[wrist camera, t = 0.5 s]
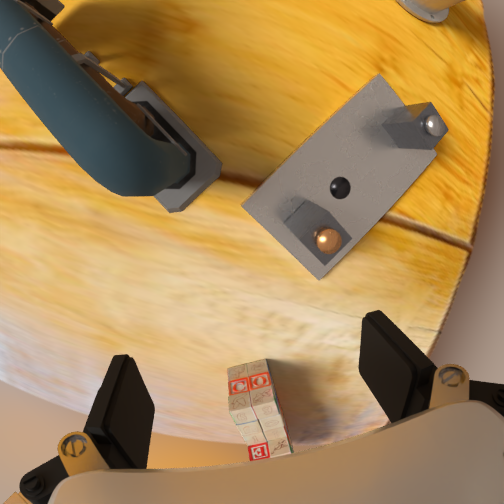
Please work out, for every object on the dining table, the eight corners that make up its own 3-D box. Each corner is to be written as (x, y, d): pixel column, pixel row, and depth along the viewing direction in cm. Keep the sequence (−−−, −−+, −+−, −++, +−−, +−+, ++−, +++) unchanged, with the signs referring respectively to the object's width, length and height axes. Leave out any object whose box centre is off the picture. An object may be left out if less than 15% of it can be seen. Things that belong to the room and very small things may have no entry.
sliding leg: (307, 199, 35) (332, 212, 27) (328, 222, 36) (356, 241, 28) (283, 223, 35) (301, 243, 28) (305, 245, 36) (328, 269, 29)
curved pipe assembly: (228, 168, 34) (242, 188, 14) (174, 218, 35) (122, 302, 15) (65, 6, 23) (-15, -58, 3) (22, 52, 24) (-76, 17, 4)
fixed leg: (398, 107, 32) (436, 101, 25) (415, 130, 33) (454, 129, 26) (381, 124, 33) (418, 121, 25) (399, 148, 34) (437, 150, 26)
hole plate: (375, 75, 32) (379, 73, 31) (432, 154, 36) (437, 154, 35) (240, 204, 36) (241, 206, 34) (316, 277, 40) (318, 280, 38)
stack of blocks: (225, 367, 43) (230, 428, 31) (265, 357, 43) (280, 417, 32) (258, 440, 50) (267, 491, 39) (289, 433, 50) (303, 482, 39)
